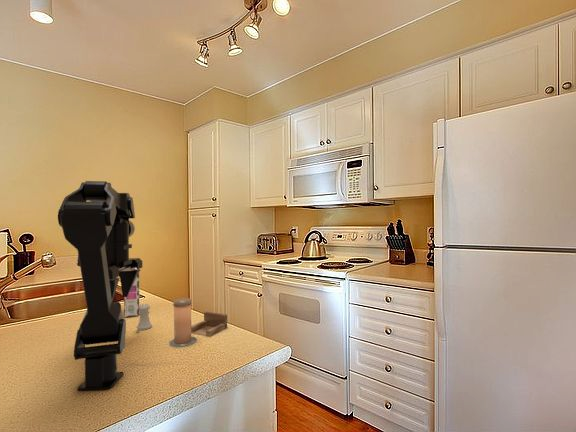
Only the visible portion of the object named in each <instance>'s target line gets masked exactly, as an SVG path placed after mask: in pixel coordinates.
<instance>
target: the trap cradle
mask: <svg viewBox="0 0 576 432" xmlns="http://www.w3.org/2000/svg"><path fill="white" fill-rule="evenodd" d="M226 329H228V314H225V313H219V312H213V311H205V312H203V320H202V321H200V322H197V323H195V324H193V325H191V335H192V334H193V335H197V336H203V337H207V338H208V337H209V338H211V337H213V336H215V335H216V334H218V333H221V332H223V331H224V330H226Z"/></svg>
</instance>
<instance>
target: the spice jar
mask: <svg viewBox="0 0 576 432" xmlns="http://www.w3.org/2000/svg"><path fill="white" fill-rule="evenodd" d="M191 326H192V299H191V298H188V297H181V298H176V299H174V300H173V329H174V330H173V336H174V337H173V339H174V343H175V344H186V343H189V342H191V337H192V333H191Z"/></svg>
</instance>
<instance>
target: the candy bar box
mask: <svg viewBox="0 0 576 432" xmlns="http://www.w3.org/2000/svg"><path fill="white" fill-rule="evenodd" d="M135 269H137V268H135ZM123 300H124V301H123V303H124V304H123V306H124V308H123V313H124V314H123V318H131V317H132V318H133V317H140V314H139V313H140V310H139V309H138V308H139V307H140V272H139V273H138V275H137V277H136V279H135V281H134V283H133V286H132V288H131V290H130V292H129V294H128V296H127V297H123Z"/></svg>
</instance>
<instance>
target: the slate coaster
mask: <svg viewBox="0 0 576 432" xmlns="http://www.w3.org/2000/svg"><path fill="white" fill-rule="evenodd" d="M197 341H198V340H197V338H196V337H195V336H191V342H189V343H186V344H175V343H174V338H173V339H171V340H170V341H169V346H171V347H173V348H184V347H189V346H192V345H195V343H197Z"/></svg>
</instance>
